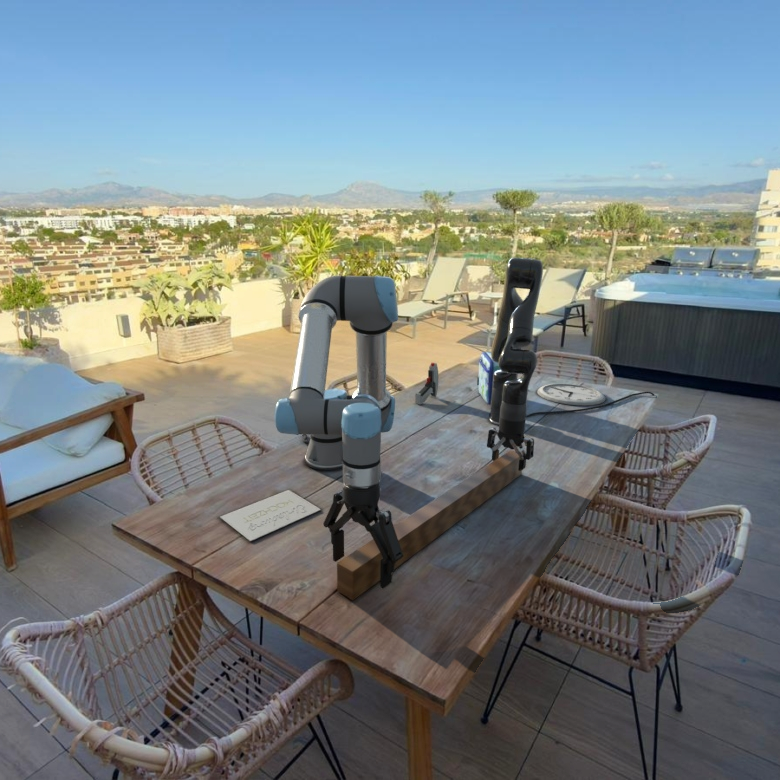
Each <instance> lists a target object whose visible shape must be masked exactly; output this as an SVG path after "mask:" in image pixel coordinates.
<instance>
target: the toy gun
mask: <svg viewBox="0 0 780 780" xmlns="http://www.w3.org/2000/svg"><path fill="white" fill-rule="evenodd" d="M438 390H439V368H438V364H437V362H431V363H430V365H429V368H428V370H427V377H426V382H425V384H424V386H423V387H422V388H421V389H420V391H418V392H415V395H414V398H415V399H414V403H415V404H417V405H419V406H420V405H422V404H423V403H425V402H426V401H427V399H428V398H429V397H430V396H431V397H432V398H437V397H438Z"/></svg>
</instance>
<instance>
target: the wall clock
mask: <svg viewBox="0 0 780 780" xmlns="http://www.w3.org/2000/svg"><path fill="white" fill-rule="evenodd" d="M537 395H538V396H540V397H541V398H543V399H545V400H547V401H550V402H553V403H557V404H562V405H570V406H580V407H581V406H583V407H585V406H586V407H587V406H597V405H601V404H603V403H604V402H605V401H606V396H605V394H603V393H602V392H601V391H598V390H597V389H595V388H592V387H588V386H585V385H579V384H573V383H550V384H545V385H543V386H541V387H539V388H538V389H537Z"/></svg>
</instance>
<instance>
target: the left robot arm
mask: <svg viewBox="0 0 780 780" xmlns="http://www.w3.org/2000/svg"><path fill="white" fill-rule="evenodd" d="M301 301H302V302H301V303H300V306H299V311H298V321H299V322H300V330H299V334H298V342H297V346H296V347H297V348H296V352H295V358H294V365H293V370H292V377H291V382H290V388H289V395H288V397H285V398H280V399H278V400H277V402H276V404H275V408H274V409H275V410H274V423H275V424H274V425H275V428H276V430H277V432H278V433H280V434H285V435H286V434H287V435H296V436H299V435H302V436H303V437H304V438H303V439H302V442H303V443H304V444H306V445H307V448H306V449H307V450H306V453H305V456H304V458H305V465H307V467H309V468H311V469H313V470H317V471H322V472H323V471H325V472H326V471H327V472H328V471H329V472H331V471H338V470H342V480H343V481H342V490H340V491H338V492H336V493H334V494H333V497H332V504H331V506H330V508H329V511H328V512H327V514H326V517H325V519H324V521H323V527H324V528H328V529H329V532H330V542H331V546H332V562H335V563H337V562H339V561H340V560H342V559H343V558H345V530H344V529H342V528H343V527H344V526H345V525H346V524H347V523H348V522H350V521H351V520H352V521H353V522H354V523H357V524H359V525H360V526H362V527H364V529H365V531H366V532H368V533H369V534H370V536H371V538H372V540H373V539H374V541H375V543H376V545H377V547H378V549H379V551H380V553H381V555H382V557H383V559H381V565H380V580H379V582H380V583H379V588H380V589H382V590H384V589H385V588H386V587H388V586H389V585H390V584H392V577H393V575H392V574H393V573H394V572H395V569H394V563H395V562H397V561H398V560H399V559H401V558H402V557H403V553H402V550H401V547H400V544H399V541H398V538H397V535H396V532H395V529H394V526H395V525H394V524H393V518H392V512H391V511H390V510H389V509H387V510H386V511H384V510H380V508H379V501H380V499H381V498H380V497H381V477H382V475H381V447H382V446H381V445H382V433H389V432H390V431H391V430H392V428H393V424H394V419H395V411H396V398H395V396H394V395H391V393H390V391H389V389H388V388H387V348H388V346H387V343H388V342H387V341H388V340H387V338H388V332H389V331H390V330H391V328H392V327H393V323H395V322H398V320H399V310H398V308H399V307H398V296H397V290H396V283H395V280H394V279H393V278H391V277H390V276H380V275H375V276H371V275H341V274H339V275H337V274H336V275H331V276H328V277H326V278H323V279H322V280H320V281H318V282H316V284H315V285H313V286H312V287H311V288H310V289H309V291H308V292H307V293H306V294H305V296H304V297H303V299H302V300H301ZM338 321H341V322H349V326H350V328H351V330H352V331H353V332H355V353H356V356H355V357H356V384H357V387H356V389H355V390H354V392H353V393H352V395H351V394H350V395H348V393H347V390H345V389H342V388H341V389H340V388H329V389H326V386H327V385H326V384H327V383H326V382H327V376H328V366H329V357H330V350H331V349H330V348H331V339H332V331H333V329H334V327H335V326H336V325H337V322H338ZM308 435H310V437H309V438H310V440H309V441H308ZM344 506H345V508H346V511H345V512H344V513H343V514H342V515H341V517H340V518H338V517H339V515H340V512H341V511H342V509H343V507H344ZM373 522H374V523H373ZM372 523H373V524H372ZM371 524H372V525H371ZM388 552H389V554H388Z"/></svg>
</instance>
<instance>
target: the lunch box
mask: <svg viewBox="0 0 780 780" xmlns="http://www.w3.org/2000/svg"><path fill="white" fill-rule="evenodd" d="M497 370H500V368H499V363H497V362H494V361H493V360H492V357H491V351H482V352H481V354H480V358H479V360H478V377H477V381H476V384H477V385H476V386H478V393H479V395H480V396H481V397H482V399H483V400H484V402H485V404H487V405H488V406H489V405H490V406H491V398H492V385H493V374H494V372H495V371H497Z"/></svg>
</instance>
